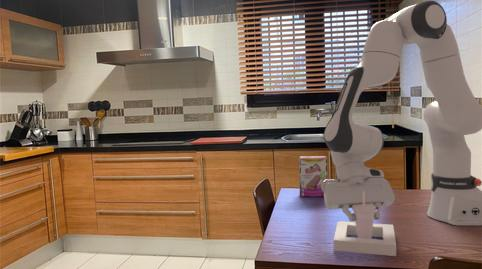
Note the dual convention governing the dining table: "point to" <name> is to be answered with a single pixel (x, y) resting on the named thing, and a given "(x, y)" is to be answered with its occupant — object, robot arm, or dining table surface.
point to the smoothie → (364, 218)
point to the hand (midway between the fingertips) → (365, 219)
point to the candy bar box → (312, 175)
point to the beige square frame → (362, 244)
